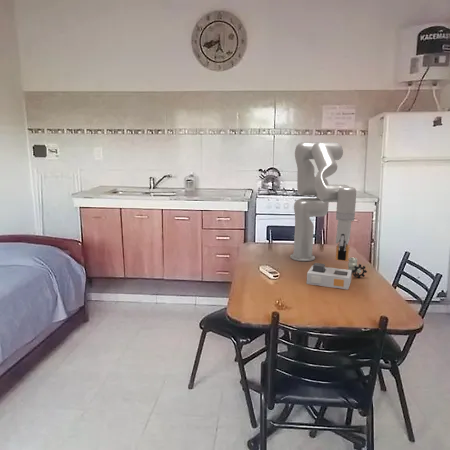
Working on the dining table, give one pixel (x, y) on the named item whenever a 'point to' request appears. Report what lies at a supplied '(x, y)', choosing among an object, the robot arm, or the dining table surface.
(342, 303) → the dining table surface
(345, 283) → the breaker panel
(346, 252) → the lockout cap
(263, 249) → the dining table surface
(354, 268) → the valve
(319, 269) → the breaker
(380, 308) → the dining table surface
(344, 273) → the block
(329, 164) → the robot arm
